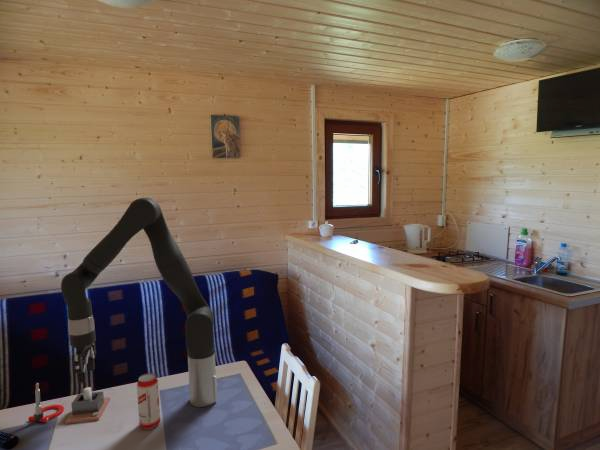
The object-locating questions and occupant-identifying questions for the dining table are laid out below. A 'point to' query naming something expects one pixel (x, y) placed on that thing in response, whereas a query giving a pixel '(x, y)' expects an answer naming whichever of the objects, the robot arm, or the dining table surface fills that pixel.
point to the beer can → (148, 401)
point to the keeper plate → (89, 416)
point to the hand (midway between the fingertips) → (86, 376)
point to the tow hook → (44, 409)
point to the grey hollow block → (87, 404)
